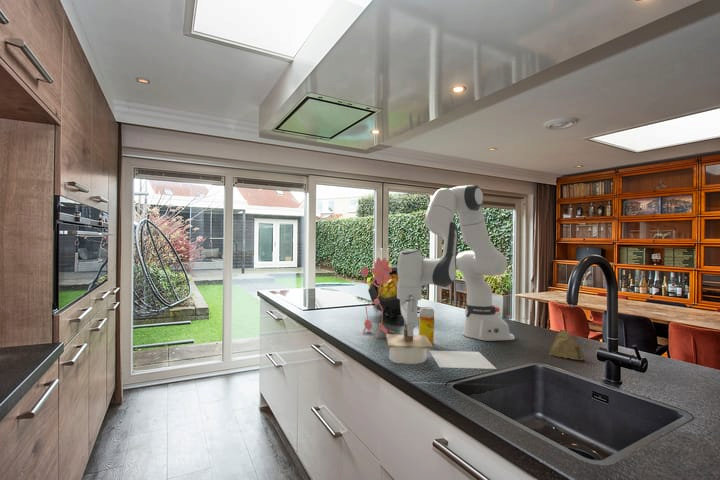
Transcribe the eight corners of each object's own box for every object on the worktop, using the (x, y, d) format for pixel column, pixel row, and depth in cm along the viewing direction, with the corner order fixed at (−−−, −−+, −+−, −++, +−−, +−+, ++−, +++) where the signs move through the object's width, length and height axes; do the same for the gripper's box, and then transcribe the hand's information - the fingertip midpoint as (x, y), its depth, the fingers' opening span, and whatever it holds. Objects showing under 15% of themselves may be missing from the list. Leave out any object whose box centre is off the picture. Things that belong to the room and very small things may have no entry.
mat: (478, 353, 142) (478, 351, 142) (496, 370, 123) (496, 368, 123) (429, 351, 142) (429, 350, 142) (439, 368, 123) (439, 367, 123)
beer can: (433, 346, 149) (434, 309, 149) (418, 345, 150) (419, 308, 150) (433, 343, 155) (434, 307, 155) (418, 341, 156) (419, 306, 156)
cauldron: (435, 309, 207) (424, 286, 190) (393, 335, 207) (378, 314, 191) (413, 276, 227) (400, 253, 211) (374, 300, 228) (359, 279, 211)
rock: (592, 354, 136) (569, 343, 146) (585, 337, 134) (562, 327, 143) (572, 373, 134) (550, 360, 144) (564, 356, 132) (542, 345, 141)
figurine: (388, 342, 154) (391, 258, 155) (350, 330, 174) (353, 256, 175) (413, 337, 164) (416, 259, 164) (374, 326, 184) (377, 256, 184)
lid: (425, 337, 140) (425, 324, 140) (432, 348, 125) (433, 334, 125) (386, 336, 140) (386, 323, 140) (388, 347, 125) (389, 333, 125)
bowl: (422, 354, 139) (423, 338, 139) (428, 365, 126) (429, 347, 126) (388, 353, 139) (388, 337, 139) (391, 364, 126) (391, 346, 126)
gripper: (422, 298, 122) (421, 340, 122) (414, 290, 143) (413, 326, 143) (403, 298, 123) (402, 339, 122) (397, 290, 143) (397, 325, 143)
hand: (408, 332), depth 133 cm, fingers open, 8 cm apart
